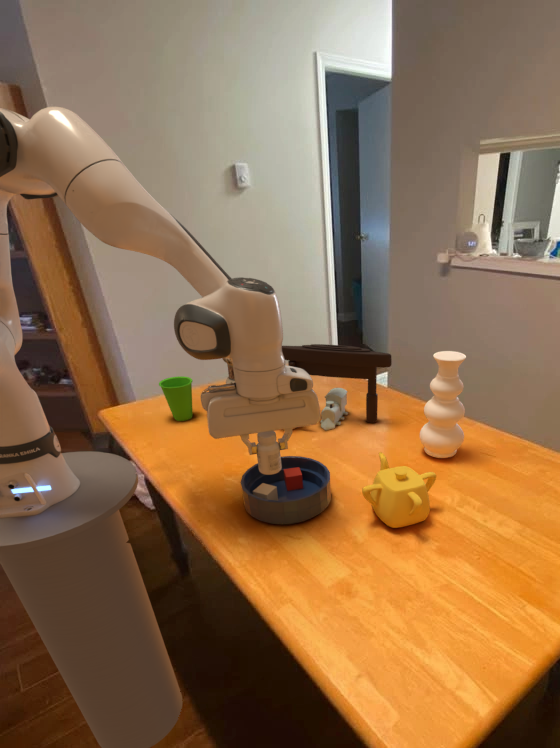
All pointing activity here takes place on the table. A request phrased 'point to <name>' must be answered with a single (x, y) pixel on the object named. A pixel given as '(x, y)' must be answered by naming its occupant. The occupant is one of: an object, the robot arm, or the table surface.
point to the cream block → (266, 492)
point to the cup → (178, 396)
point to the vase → (444, 408)
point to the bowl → (288, 492)
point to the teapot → (399, 494)
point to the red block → (293, 478)
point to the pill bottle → (268, 453)
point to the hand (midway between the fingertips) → (268, 450)
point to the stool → (340, 374)
